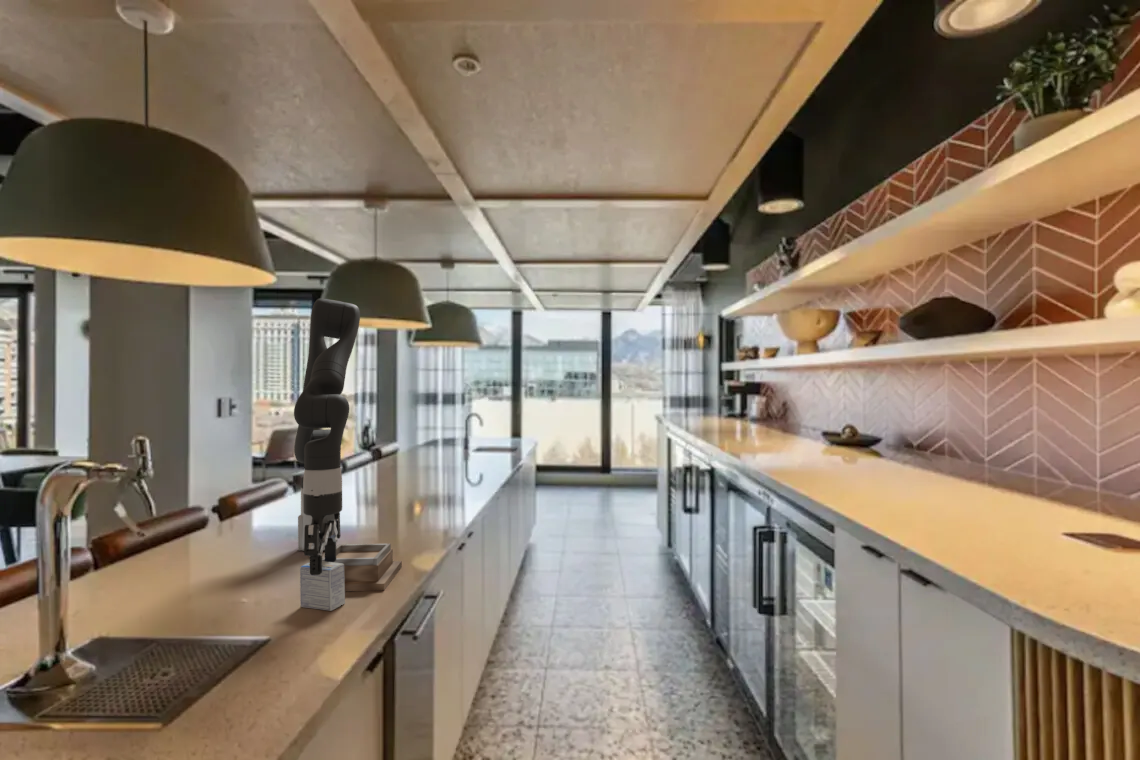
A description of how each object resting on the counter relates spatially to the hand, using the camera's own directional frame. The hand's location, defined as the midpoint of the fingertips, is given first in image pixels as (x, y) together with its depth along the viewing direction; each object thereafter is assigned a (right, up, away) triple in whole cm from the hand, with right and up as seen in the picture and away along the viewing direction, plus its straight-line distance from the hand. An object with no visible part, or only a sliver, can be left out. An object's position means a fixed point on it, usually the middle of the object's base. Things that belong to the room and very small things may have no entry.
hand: (323, 567), depth 124 cm
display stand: (+1, -8, +17) cm, 19 cm away
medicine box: (0, -8, 0) cm, 8 cm away
